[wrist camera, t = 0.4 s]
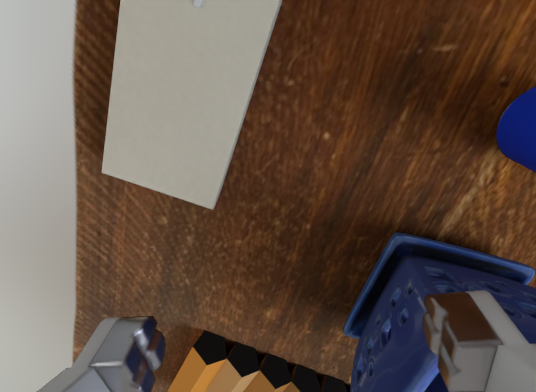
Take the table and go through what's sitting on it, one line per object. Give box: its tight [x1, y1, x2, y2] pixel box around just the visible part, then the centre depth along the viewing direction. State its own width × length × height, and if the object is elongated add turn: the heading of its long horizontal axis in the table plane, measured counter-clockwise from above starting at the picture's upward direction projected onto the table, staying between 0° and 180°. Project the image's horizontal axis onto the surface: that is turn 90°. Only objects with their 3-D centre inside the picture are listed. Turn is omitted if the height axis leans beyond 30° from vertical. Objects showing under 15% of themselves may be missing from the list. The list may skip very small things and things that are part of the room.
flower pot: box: [343, 232, 536, 392], centre depth 22 cm, size 13×13×12 cm
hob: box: [102, 0, 282, 210], centre depth 18 cm, size 21×9×3 cm, turn 160°
